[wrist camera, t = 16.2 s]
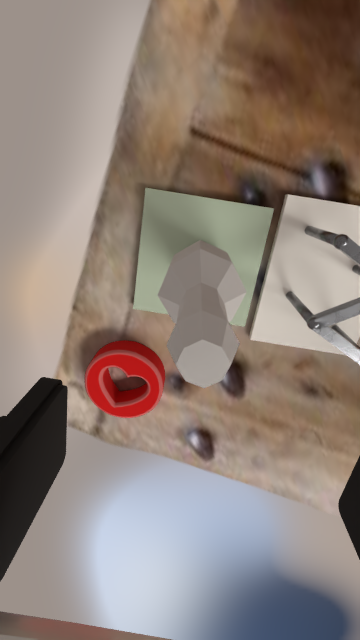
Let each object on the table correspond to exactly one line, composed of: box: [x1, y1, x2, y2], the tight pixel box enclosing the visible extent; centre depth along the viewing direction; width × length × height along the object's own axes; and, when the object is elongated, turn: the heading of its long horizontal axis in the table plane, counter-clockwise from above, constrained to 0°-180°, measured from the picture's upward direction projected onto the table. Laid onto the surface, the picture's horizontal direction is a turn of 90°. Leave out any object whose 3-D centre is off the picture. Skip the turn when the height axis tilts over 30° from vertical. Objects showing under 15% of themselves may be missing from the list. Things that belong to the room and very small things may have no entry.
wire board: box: [249, 194, 360, 355], centre depth 35 cm, size 12×16×1 cm
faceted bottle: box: [158, 240, 247, 388], centre depth 24 cm, size 6×6×22 cm
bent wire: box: [286, 226, 360, 365], centre depth 31 cm, size 7×11×9 cm, turn 171°
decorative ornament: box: [85, 340, 165, 418], centre depth 40 cm, size 10×10×3 cm
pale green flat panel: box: [133, 188, 274, 327], centre depth 35 cm, size 13×13×1 cm
